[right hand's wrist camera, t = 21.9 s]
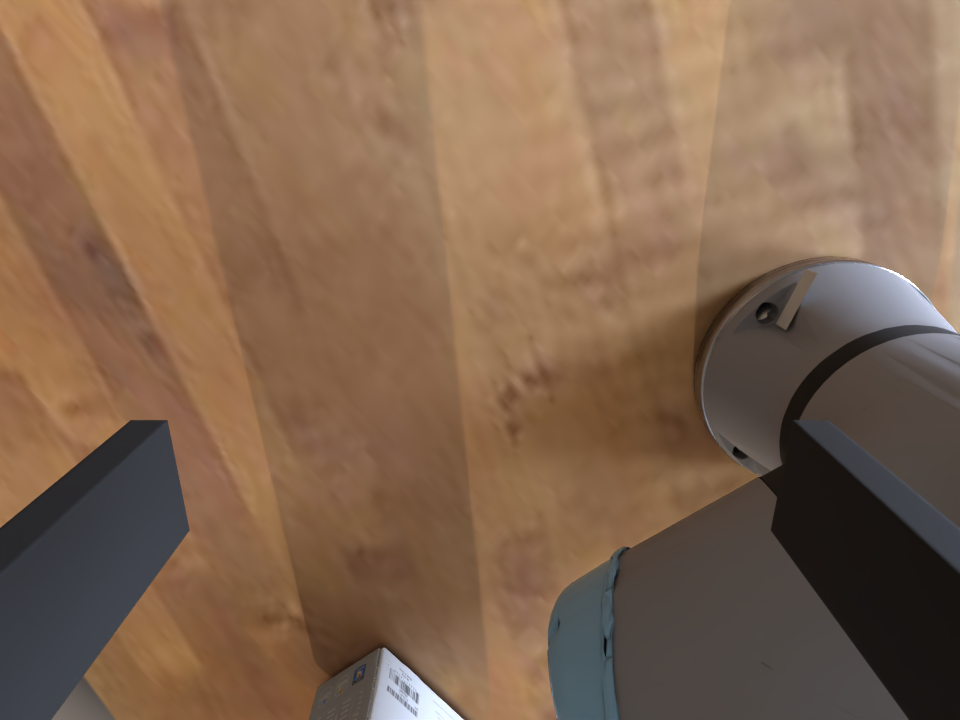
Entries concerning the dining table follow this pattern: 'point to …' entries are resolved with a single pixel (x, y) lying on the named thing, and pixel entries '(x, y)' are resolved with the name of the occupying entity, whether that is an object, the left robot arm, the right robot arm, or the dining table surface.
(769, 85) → the dining table surface
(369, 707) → the hard drive box
